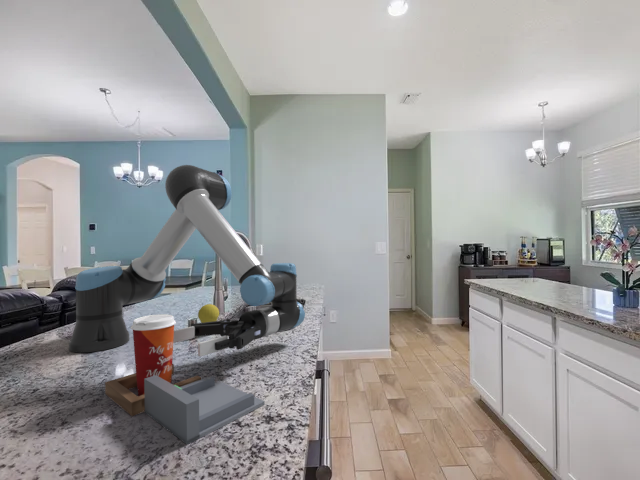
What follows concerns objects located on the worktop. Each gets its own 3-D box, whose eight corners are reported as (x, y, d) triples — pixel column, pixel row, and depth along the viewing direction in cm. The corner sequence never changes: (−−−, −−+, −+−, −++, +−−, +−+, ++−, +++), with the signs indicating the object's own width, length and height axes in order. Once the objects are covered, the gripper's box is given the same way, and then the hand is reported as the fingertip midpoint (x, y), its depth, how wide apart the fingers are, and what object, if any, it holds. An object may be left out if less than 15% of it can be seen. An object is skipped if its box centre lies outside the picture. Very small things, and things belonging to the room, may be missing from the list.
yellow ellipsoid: (207, 338, 102) (206, 306, 102) (193, 335, 105) (193, 305, 105) (223, 333, 107) (223, 303, 108) (210, 330, 111) (210, 301, 111)
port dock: (187, 444, 48) (186, 404, 48) (144, 412, 57) (144, 378, 57) (264, 404, 59) (264, 372, 59) (218, 383, 69) (218, 355, 69)
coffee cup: (158, 403, 60) (157, 323, 61) (121, 399, 62) (120, 322, 62) (185, 383, 69) (184, 313, 69) (152, 381, 70) (151, 312, 70)
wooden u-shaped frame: (131, 416, 56) (131, 402, 56) (105, 394, 64) (105, 382, 64) (201, 389, 66) (201, 377, 66) (170, 372, 75) (170, 362, 75)
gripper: (292, 346, 78) (215, 375, 61) (230, 330, 94) (156, 349, 77) (291, 315, 78) (214, 336, 62) (230, 304, 94) (156, 318, 77)
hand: (182, 343), depth 69 cm, fingers open, 13 cm apart
